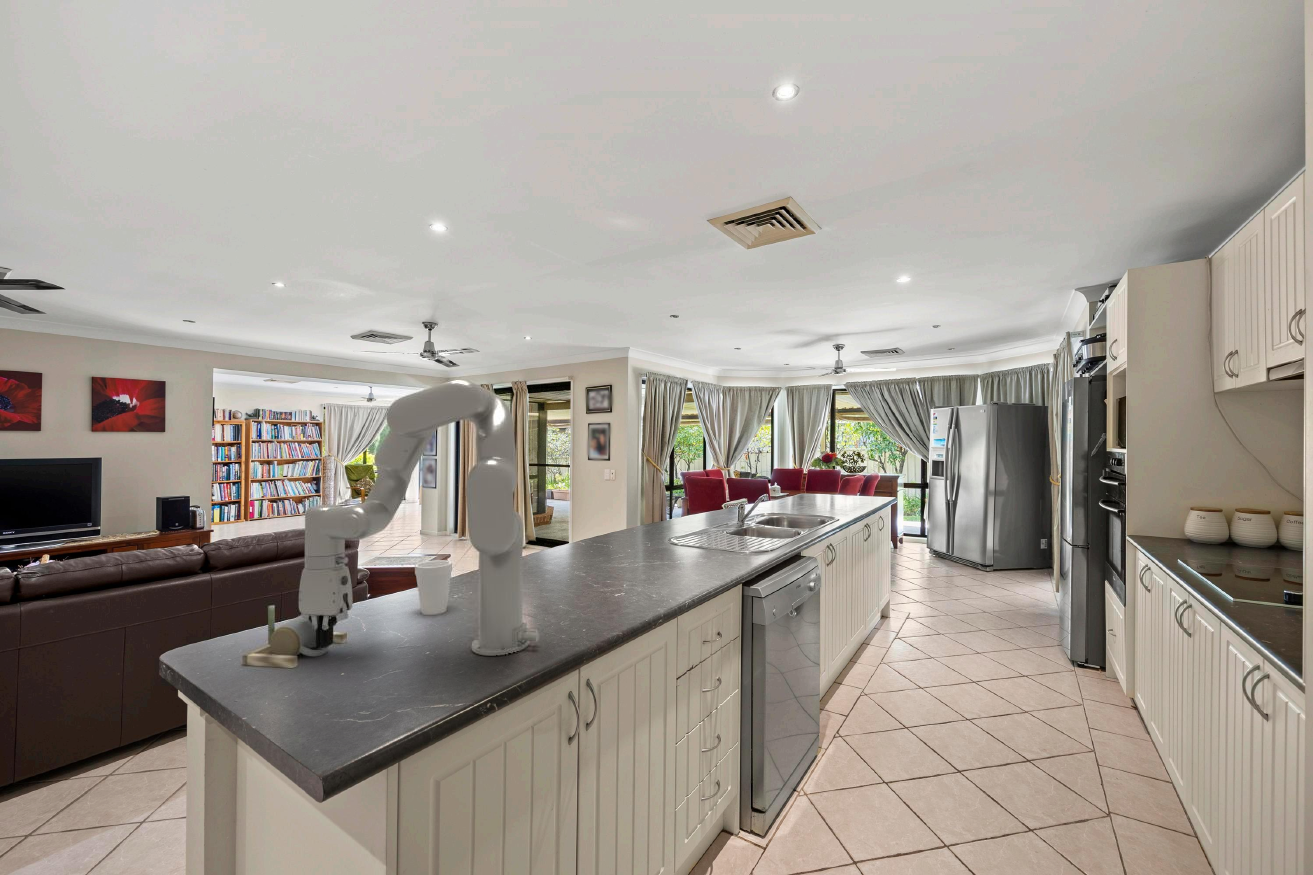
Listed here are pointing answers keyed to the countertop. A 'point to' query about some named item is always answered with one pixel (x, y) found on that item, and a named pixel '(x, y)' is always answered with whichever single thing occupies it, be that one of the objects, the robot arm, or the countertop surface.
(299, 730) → the countertop surface
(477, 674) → the countertop surface
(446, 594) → the foam cup
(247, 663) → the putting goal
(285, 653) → the ceramic mug
